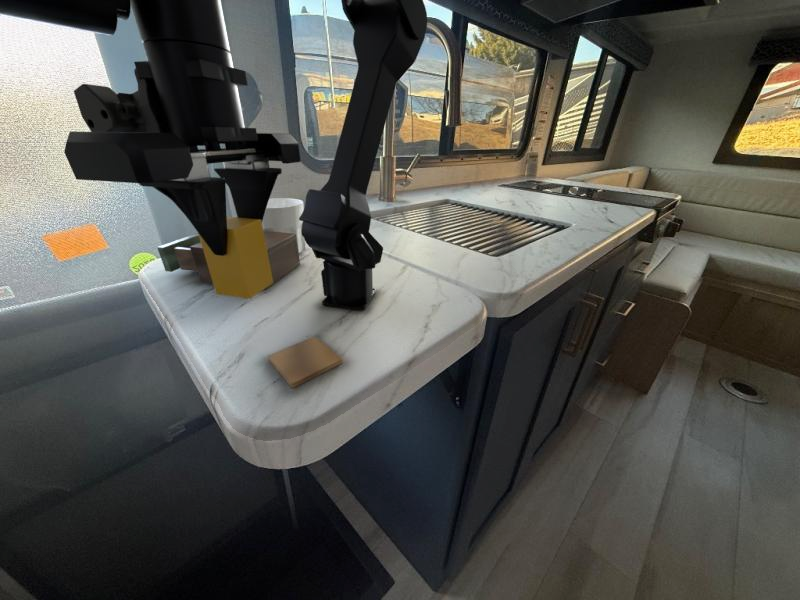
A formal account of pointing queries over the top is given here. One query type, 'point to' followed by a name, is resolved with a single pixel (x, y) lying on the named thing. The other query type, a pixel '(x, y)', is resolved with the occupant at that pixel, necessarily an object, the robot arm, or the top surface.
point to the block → (240, 260)
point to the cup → (285, 218)
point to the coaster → (304, 361)
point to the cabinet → (279, 254)
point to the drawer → (179, 254)
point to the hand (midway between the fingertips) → (236, 247)
